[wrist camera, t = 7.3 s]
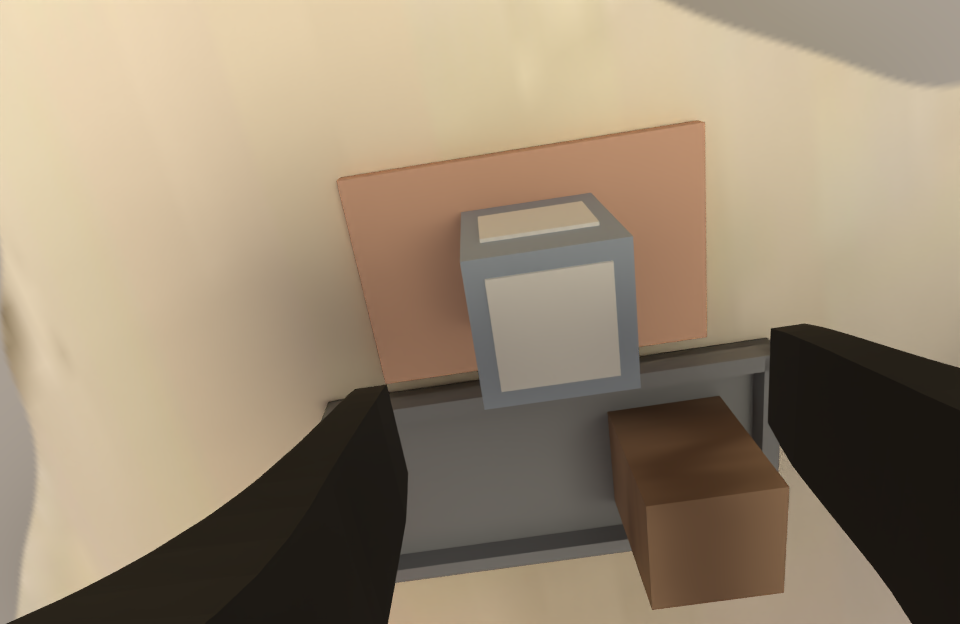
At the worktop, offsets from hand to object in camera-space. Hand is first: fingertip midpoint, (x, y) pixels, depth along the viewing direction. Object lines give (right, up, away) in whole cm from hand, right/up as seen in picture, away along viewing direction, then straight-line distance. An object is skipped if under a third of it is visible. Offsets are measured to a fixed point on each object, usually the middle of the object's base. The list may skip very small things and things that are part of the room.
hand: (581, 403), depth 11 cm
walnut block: (+5, -3, +11) cm, 12 cm away
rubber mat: (0, +3, +8) cm, 9 cm away
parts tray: (+1, -4, +12) cm, 12 cm away
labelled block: (0, +3, +8) cm, 8 cm away
